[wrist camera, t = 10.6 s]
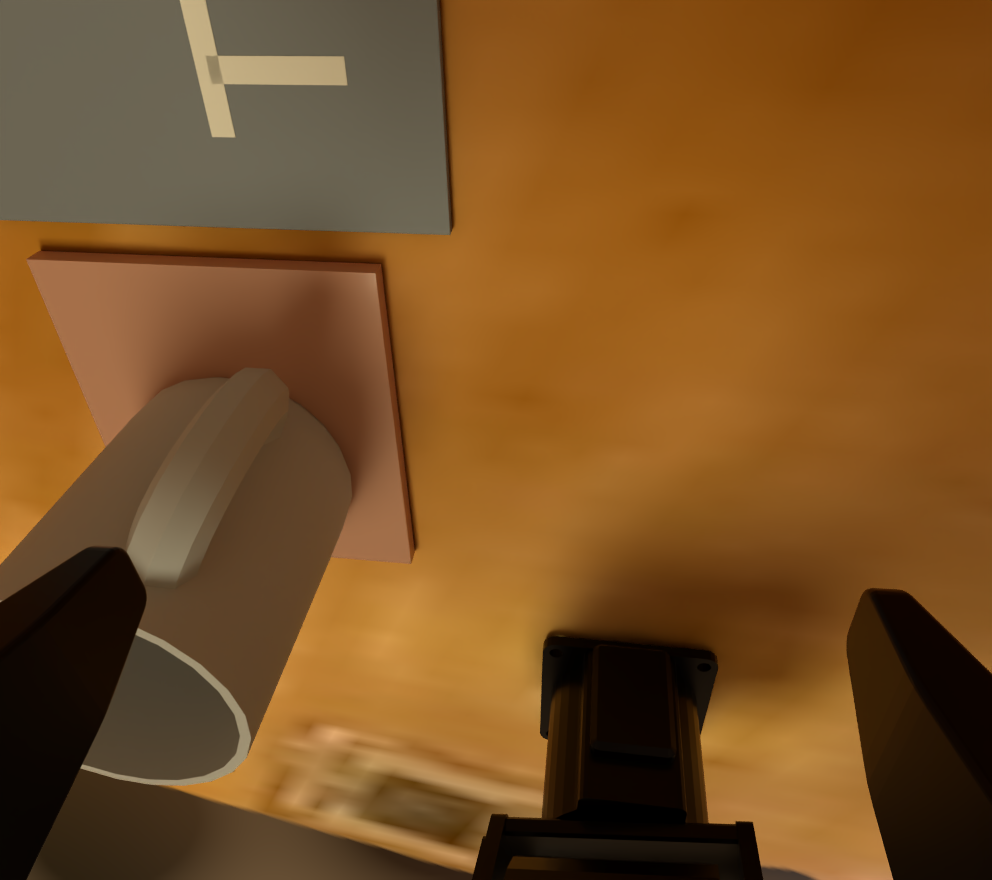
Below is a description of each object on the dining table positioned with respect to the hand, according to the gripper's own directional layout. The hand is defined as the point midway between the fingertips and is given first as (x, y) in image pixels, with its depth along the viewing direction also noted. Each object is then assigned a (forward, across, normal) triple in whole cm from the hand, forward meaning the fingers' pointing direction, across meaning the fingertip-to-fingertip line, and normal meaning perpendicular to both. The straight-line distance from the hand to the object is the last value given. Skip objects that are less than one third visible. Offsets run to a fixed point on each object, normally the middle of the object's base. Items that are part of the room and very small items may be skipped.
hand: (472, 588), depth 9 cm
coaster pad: (+12, +10, +6) cm, 17 cm away
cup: (+12, +9, +7) cm, 16 cm away
